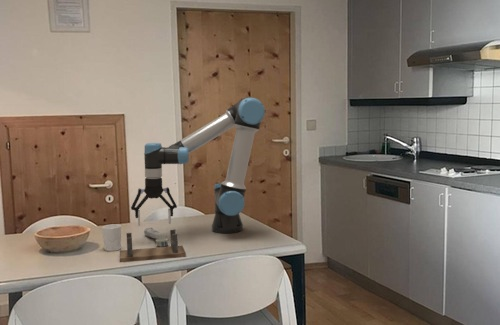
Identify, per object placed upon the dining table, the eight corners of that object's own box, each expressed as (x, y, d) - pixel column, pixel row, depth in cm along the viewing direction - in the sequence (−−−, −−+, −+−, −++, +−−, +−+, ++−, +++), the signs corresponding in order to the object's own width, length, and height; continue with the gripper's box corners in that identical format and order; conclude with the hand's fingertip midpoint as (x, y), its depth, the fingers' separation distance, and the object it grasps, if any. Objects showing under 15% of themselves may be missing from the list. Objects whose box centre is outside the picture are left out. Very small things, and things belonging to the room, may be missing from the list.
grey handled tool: (153, 226, 261) (169, 230, 239) (154, 240, 261) (170, 245, 239) (142, 228, 259) (157, 231, 236) (143, 242, 259) (158, 247, 236)
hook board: (182, 248, 235) (181, 228, 234) (185, 256, 223) (185, 234, 222) (120, 254, 229) (118, 232, 228) (120, 262, 217) (119, 239, 216)
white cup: (102, 248, 239) (100, 225, 238) (120, 245, 242) (119, 223, 241) (104, 252, 232) (103, 229, 231) (123, 250, 235) (122, 227, 234)
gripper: (180, 175, 252) (181, 221, 255) (124, 177, 246) (126, 223, 249) (182, 177, 245) (183, 224, 247) (125, 179, 239) (126, 227, 242)
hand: (154, 224), depth 248 cm, fingers open, 13 cm apart
